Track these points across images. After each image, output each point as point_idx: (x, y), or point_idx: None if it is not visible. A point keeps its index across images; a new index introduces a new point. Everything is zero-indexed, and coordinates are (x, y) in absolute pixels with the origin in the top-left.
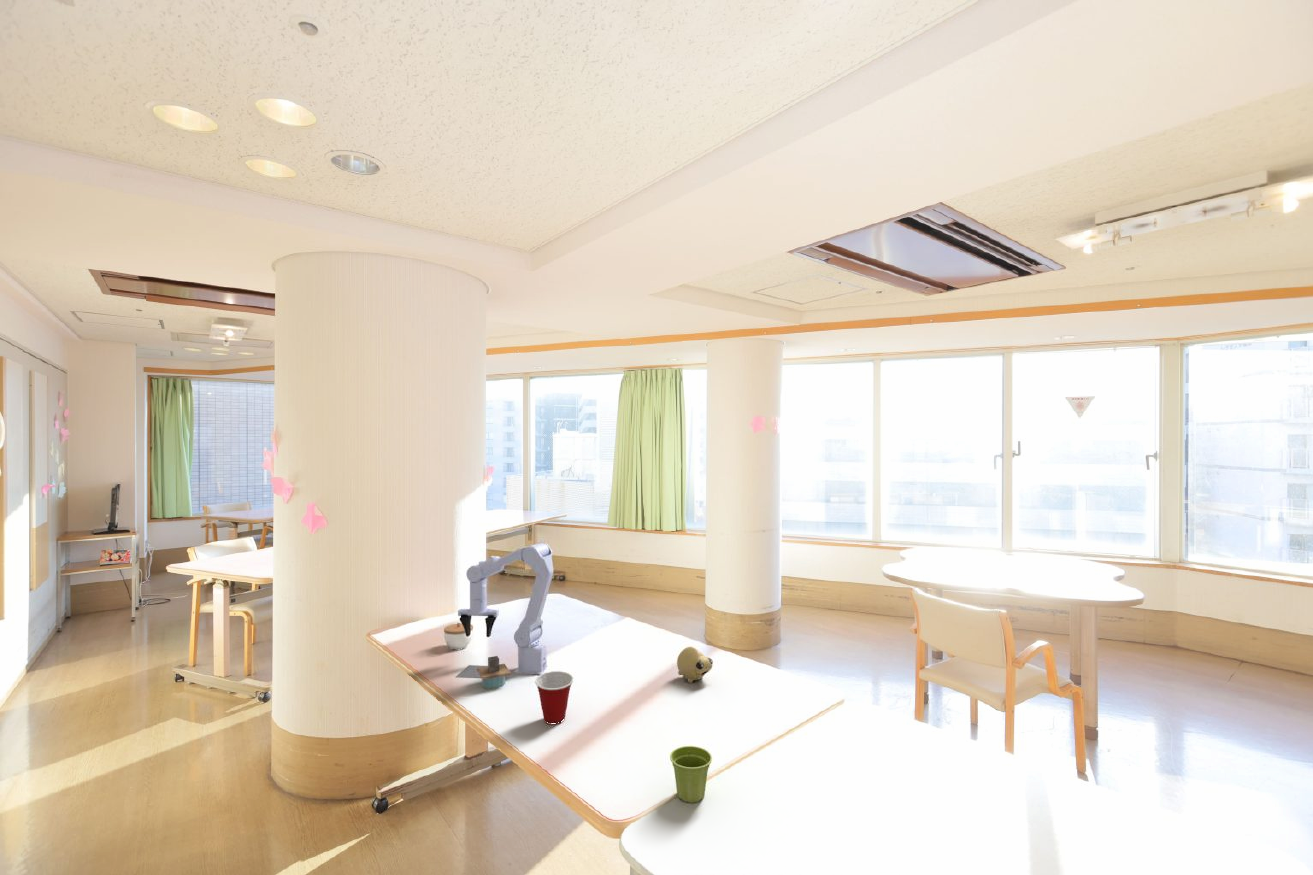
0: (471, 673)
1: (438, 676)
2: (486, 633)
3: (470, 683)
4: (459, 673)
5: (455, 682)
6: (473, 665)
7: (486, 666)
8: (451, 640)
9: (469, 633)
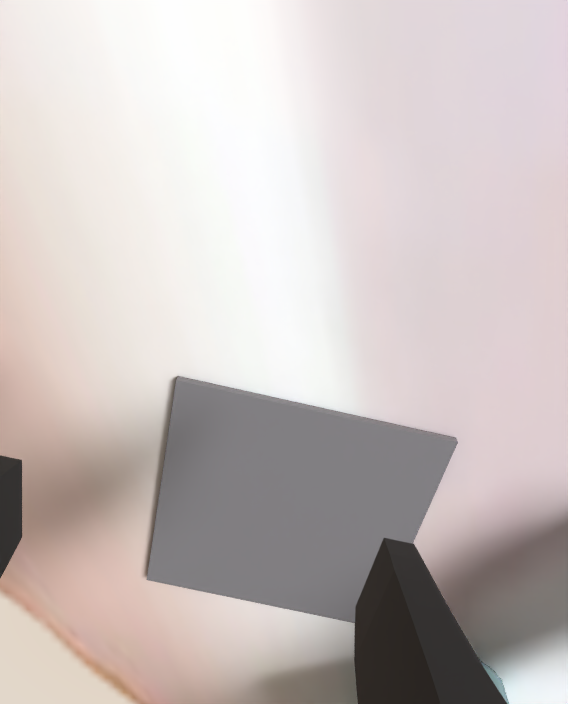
0: (249, 540)
1: None
2: (358, 685)
3: (280, 654)
4: (156, 530)
5: (178, 629)
6: (221, 392)
7: (346, 431)
8: None
9: (3, 513)
